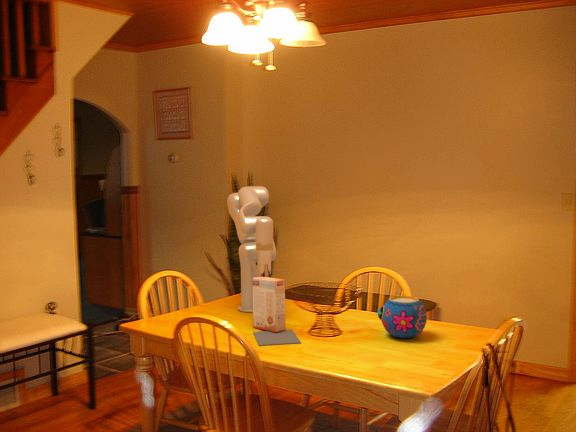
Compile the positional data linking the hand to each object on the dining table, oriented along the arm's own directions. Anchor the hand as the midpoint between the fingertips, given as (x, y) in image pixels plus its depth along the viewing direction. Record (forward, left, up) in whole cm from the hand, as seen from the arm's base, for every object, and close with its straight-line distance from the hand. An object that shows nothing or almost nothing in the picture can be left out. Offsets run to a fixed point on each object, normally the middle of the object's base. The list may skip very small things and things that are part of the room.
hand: (264, 289), depth 249 cm
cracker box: (+12, 0, -14) cm, 18 cm away
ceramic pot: (+32, +50, -14) cm, 61 cm away
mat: (+24, +1, -14) cm, 28 cm away
